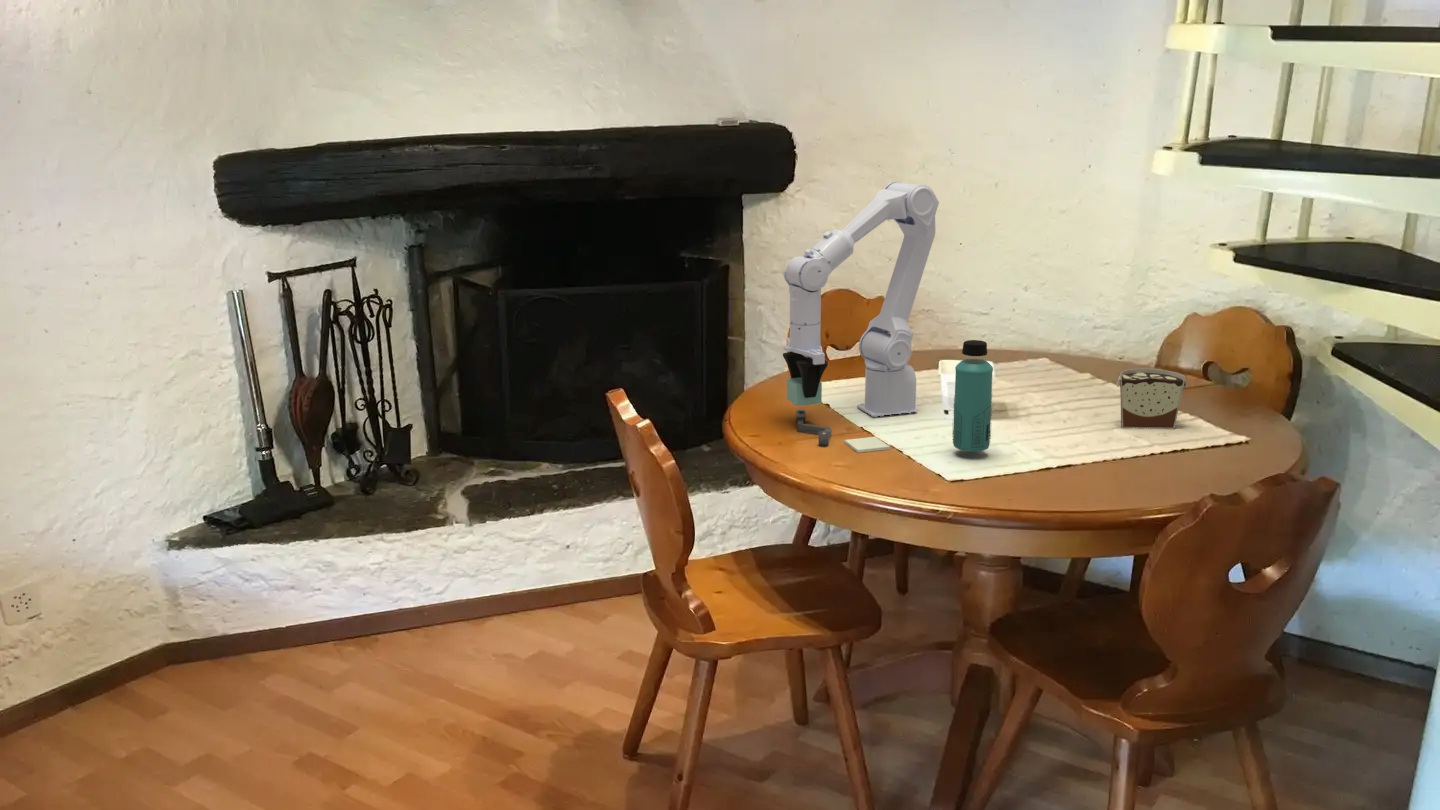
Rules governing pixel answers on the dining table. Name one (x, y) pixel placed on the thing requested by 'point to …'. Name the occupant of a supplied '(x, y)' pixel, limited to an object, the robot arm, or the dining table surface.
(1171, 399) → the food container
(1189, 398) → the dining table surface
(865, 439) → the coaster
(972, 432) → the beverage bottle
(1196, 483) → the dining table surface
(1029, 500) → the dining table surface
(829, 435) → the grey zigzag bar
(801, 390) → the hollow square tube
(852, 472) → the dining table surface
